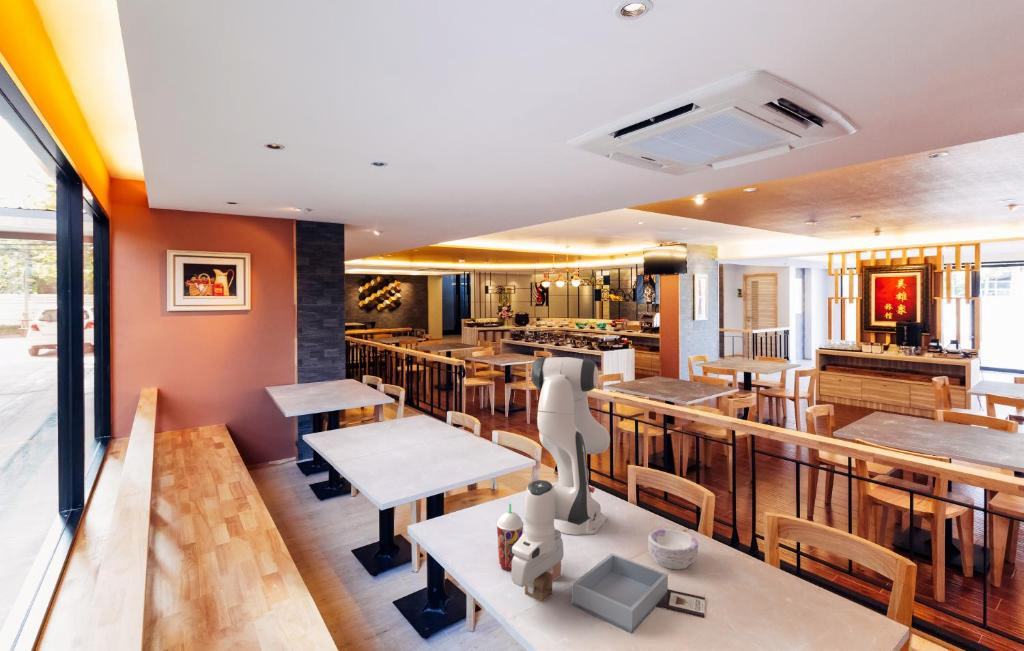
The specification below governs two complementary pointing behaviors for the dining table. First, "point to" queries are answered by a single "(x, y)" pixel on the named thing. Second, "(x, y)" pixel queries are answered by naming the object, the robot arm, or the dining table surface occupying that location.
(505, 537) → the smoothie
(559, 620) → the dining table surface
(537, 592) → the walnut block
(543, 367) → the robot arm
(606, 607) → the tote
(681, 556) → the paper bowls
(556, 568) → the terracotta box
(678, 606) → the chocolate bar
